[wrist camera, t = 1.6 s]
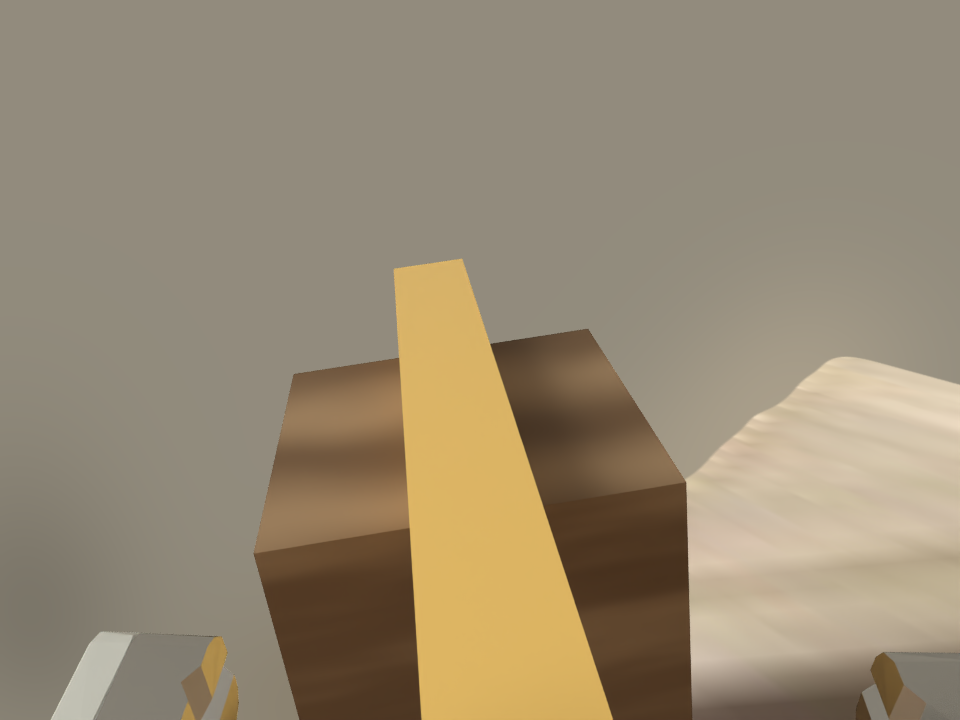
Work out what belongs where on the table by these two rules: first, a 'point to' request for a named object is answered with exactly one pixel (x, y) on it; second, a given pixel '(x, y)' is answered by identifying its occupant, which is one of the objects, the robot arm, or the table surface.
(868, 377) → the table surface
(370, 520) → the walnut post
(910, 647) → the table surface
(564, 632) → the tan wooden beam
